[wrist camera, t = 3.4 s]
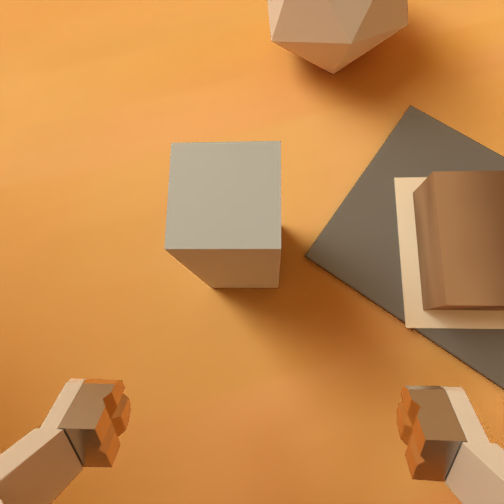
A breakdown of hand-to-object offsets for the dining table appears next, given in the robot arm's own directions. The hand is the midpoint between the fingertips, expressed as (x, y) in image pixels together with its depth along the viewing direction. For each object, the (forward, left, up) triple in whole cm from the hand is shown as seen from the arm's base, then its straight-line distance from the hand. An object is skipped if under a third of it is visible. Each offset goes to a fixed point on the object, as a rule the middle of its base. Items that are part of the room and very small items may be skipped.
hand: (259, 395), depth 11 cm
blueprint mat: (+5, +13, -11) cm, 17 cm away
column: (-5, +5, -11) cm, 13 cm away
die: (-9, +20, -11) cm, 25 cm away
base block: (+6, +13, -10) cm, 17 cm away
